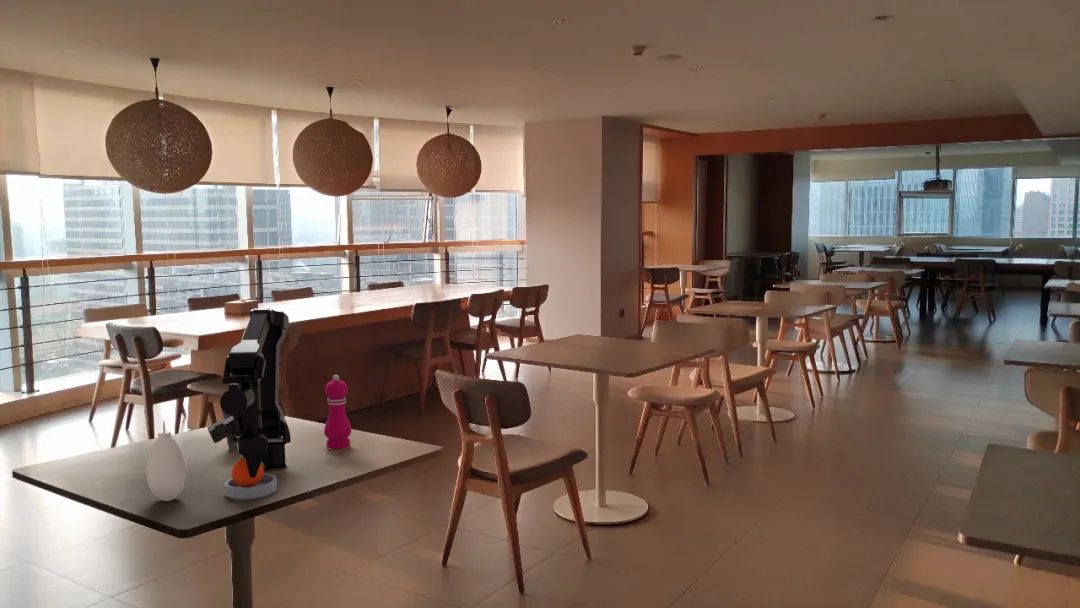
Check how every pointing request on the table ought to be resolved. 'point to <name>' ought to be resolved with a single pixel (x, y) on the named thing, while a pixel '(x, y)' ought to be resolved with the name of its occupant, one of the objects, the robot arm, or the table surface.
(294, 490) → the table surface
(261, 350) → the robot arm
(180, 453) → the white tall egg-shaped piece
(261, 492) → the saucer
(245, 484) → the clementine
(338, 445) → the pepper mill
